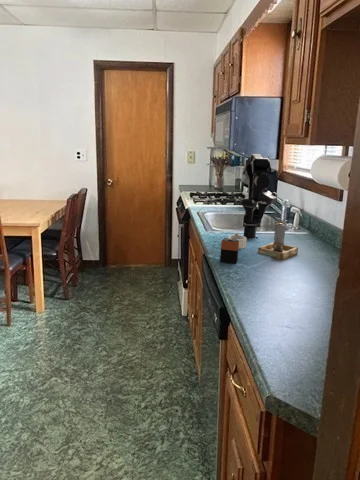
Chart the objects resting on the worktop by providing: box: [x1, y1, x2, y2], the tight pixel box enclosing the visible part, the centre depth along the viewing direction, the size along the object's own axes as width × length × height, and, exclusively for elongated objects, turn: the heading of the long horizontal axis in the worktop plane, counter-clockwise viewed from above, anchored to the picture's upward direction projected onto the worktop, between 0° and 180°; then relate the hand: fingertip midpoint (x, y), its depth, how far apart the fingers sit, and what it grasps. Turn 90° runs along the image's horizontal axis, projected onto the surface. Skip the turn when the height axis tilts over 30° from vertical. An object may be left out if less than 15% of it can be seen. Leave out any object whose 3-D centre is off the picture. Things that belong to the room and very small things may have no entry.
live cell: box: [273, 222, 287, 253], centre depth 179 cm, size 4×4×13 cm
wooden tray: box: [257, 242, 299, 261], centre depth 181 cm, size 14×12×3 cm
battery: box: [219, 237, 239, 265], centre depth 166 cm, size 4×7×10 cm, turn 77°
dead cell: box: [234, 232, 242, 239], centre depth 188 cm, size 3×3×6 cm
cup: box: [227, 234, 248, 250], centre depth 188 cm, size 8×8×5 cm
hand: (255, 219), depth 188 cm, fingers open, 9 cm apart
